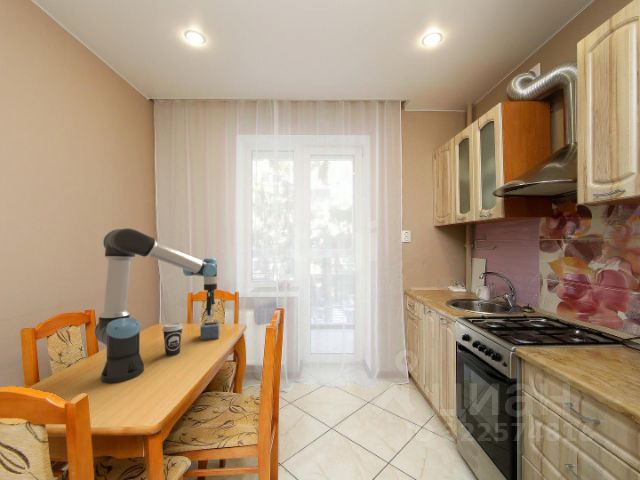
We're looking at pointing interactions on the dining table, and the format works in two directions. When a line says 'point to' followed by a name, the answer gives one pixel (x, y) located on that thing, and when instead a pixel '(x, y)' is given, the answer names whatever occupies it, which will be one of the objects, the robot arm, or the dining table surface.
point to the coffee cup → (172, 338)
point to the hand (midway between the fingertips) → (210, 317)
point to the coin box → (210, 330)
